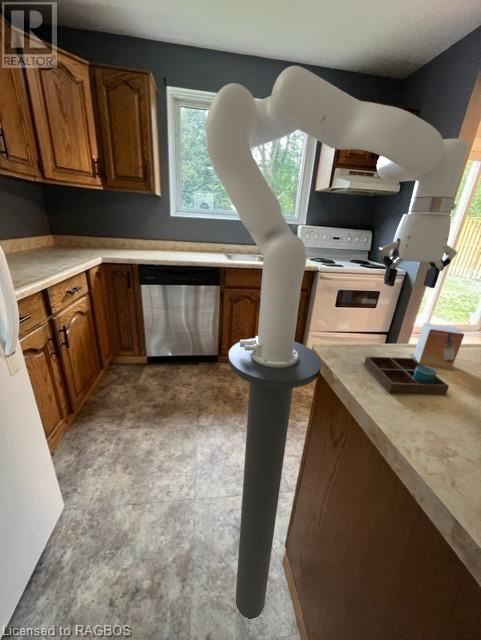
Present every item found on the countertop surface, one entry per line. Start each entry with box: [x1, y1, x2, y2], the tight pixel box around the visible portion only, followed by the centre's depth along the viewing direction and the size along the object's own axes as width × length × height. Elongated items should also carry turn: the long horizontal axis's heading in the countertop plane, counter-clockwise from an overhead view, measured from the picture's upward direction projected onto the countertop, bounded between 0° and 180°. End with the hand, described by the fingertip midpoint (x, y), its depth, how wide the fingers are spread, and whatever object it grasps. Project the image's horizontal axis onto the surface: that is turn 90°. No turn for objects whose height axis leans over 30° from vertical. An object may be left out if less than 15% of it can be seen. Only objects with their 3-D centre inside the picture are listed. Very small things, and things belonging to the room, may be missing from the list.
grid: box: [363, 356, 450, 396], centre depth 67 cm, size 13×13×2 cm
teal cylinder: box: [413, 365, 438, 384], centre depth 64 cm, size 4×4×4 cm
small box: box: [413, 322, 465, 370], centre depth 74 cm, size 8×6×10 cm
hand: (408, 285), depth 64 cm, fingers open, 9 cm apart
